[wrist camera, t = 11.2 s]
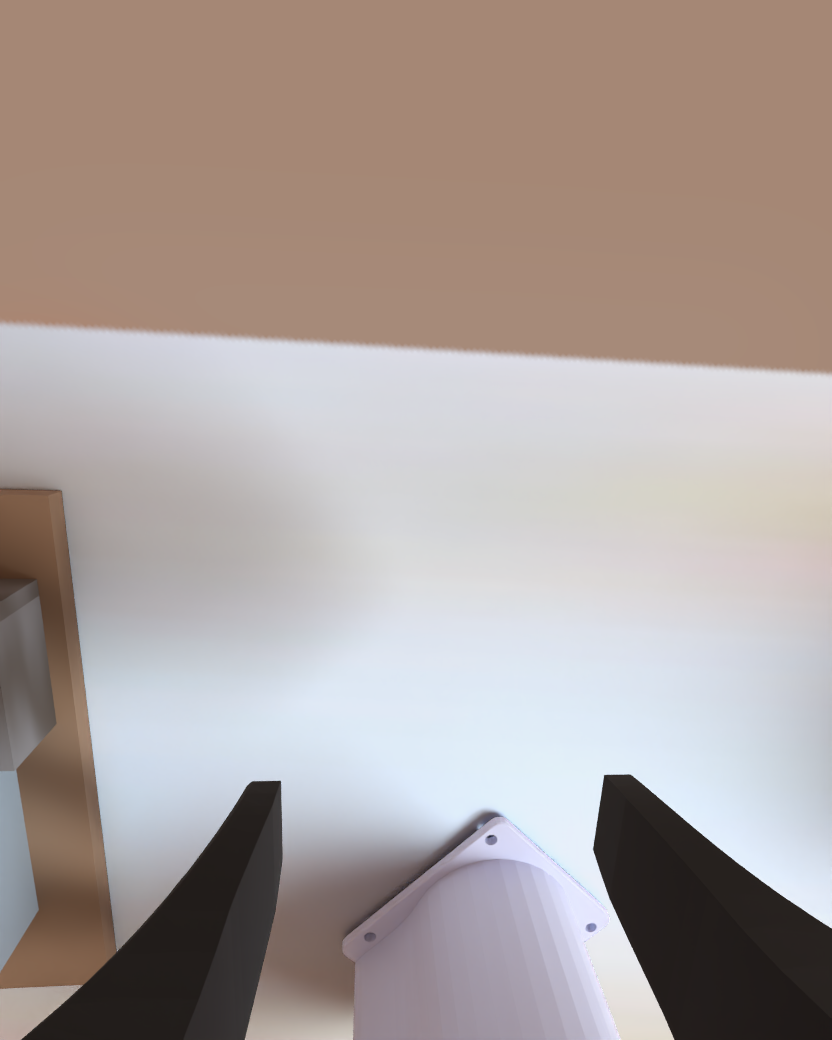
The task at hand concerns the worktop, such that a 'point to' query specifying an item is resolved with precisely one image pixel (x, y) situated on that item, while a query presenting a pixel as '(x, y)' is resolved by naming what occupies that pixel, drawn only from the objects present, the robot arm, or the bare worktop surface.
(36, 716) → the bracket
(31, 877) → the rail
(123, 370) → the worktop surface
